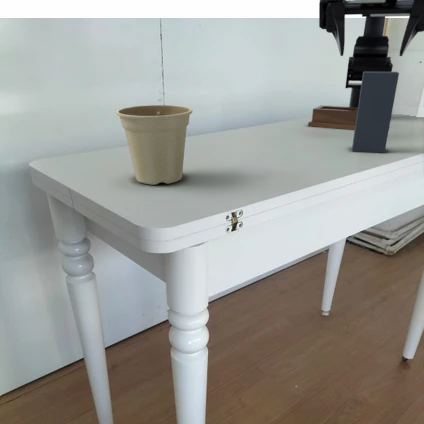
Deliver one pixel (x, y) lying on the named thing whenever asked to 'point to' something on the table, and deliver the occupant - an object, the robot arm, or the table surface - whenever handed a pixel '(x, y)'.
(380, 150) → the back pad
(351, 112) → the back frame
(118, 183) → the table surface
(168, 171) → the flower pot
